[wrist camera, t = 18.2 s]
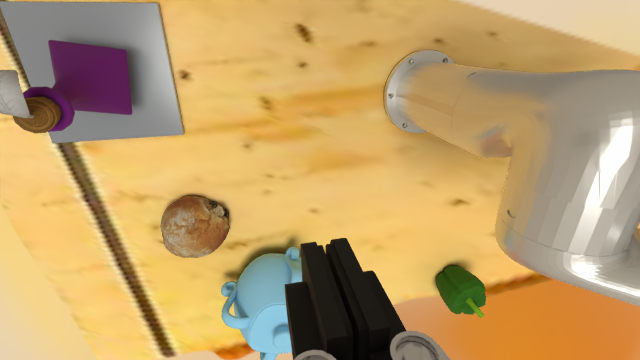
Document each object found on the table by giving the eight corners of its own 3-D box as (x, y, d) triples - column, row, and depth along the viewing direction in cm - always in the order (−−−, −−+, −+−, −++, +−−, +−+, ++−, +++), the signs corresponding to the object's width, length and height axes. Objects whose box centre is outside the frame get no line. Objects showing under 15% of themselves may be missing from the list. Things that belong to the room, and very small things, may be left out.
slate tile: (159, 3, 37) (157, 3, 36) (184, 132, 44) (183, 134, 43) (4, 2, 34) (-2, 1, 33) (57, 140, 41) (52, 143, 40)
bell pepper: (428, 268, 65) (456, 304, 56) (463, 254, 66) (497, 288, 57) (432, 295, 69) (459, 333, 60) (465, 282, 70) (497, 318, 61)
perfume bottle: (140, 110, 41) (70, 155, 25) (74, 104, 39) (-48, 149, 23) (135, 48, 38) (52, 55, 22) (63, 39, 36) (-85, 38, 20)
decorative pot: (329, 291, 62) (349, 351, 50) (254, 323, 61) (256, 392, 49) (301, 229, 55) (316, 283, 43) (216, 265, 54) (207, 330, 42)
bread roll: (172, 187, 51) (135, 212, 44) (228, 189, 48) (199, 216, 41) (188, 236, 55) (157, 267, 48) (241, 241, 52) (216, 274, 45)
